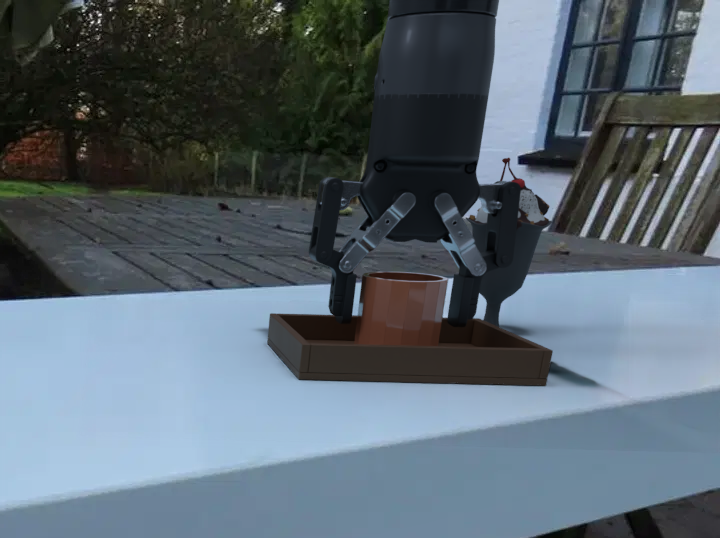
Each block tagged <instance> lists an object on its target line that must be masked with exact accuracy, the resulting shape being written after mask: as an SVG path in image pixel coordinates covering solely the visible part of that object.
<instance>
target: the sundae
mask: <svg viewBox="0 0 720 538" xmlns="http://www.w3.org/2000/svg"><path fill="white" fill-rule="evenodd" d="M501 161H502V162H503V164H504V166H503V170H502V173H501V176H500V180H499V181H504V176H505V173H506V169H507V167H508V171H509V173H510V174H511V176H512V177H513V179H512V180H510V181H511V182H516V183H518V184H519V185H520V187H521V193H520V202H519V211H518V220H517V229H516V238H515V247H514V256H513V262H512V264H511V265H510V266H509V267H507V268H498V269H495V270H492V271H489V272H487V273H486V274H485V275H484V276H483V277H482V280H481V285H480V291H479V295H481V296H482V297H483V298H484V299H485V302H486V305H485V312H484V316H483V319H482V320H484V321H486V322H488V323H491V324H493V325H495V326H498V327H500V311H501V306H502V304H503V302H504V301H505V300H507V299H508V298H510V297H512V296H514V295H515V294H516V293H517V292H518V291H519V290H520V289H521V288H522V287H523V285H524V283H525V280H526V279H527V276H528V273H529V270H530V267H531V264H532V261H533V257H534V255H535V251H536V248H537V245H538V243H539V240H540V238H541V234H542V232H543V230H544V229H547V228H548V227H550V226H551V225H552V223H553V221H552V220H550V219H549V218H547V217H546V216H545V215H546V214H547V213H548V211H549V210H550V205H549V204H548V203H547V202H546V201H545V200H544V199H543V198H541V196H539V195H538V194H535V193H534V191H532V190H533V189H532V188H529V187H527V185H526V182H525V180H524V179H523V178H520V177H519V178H518V177H516V175H515V174H514V173H513V170H512V168H511V167H510V165H511V163H510V161H511V158H510V157H506V158H502V159H501ZM487 216H488V213H486V212H484V211H483V209H482V205H481V206H480V207H479V208H478V209H477V210H476V215H473V214H470V215H469V217H465V220H466V221H468V222H469V223H470V225H471V229H472V230H471V231H472V232H471V234H472V236H473V238H474V239H475V245H476V247H477V248H478V250H479V252H480V253H482V252H484V246H485V236H486V226H487Z"/></svg>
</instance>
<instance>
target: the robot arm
mask: <svg viewBox="0 0 720 538" xmlns="http://www.w3.org/2000/svg"><path fill="white" fill-rule="evenodd" d="M499 4H500V0H389V2H388V9H387V10H388V11H387V21H386V24H385V30H384V35H383V38H382V42H381V47H380V51H379V55H378V62H377V70H376V74H375V76H374V83H373V88H374V97H373V105H372V113H371V121H370V124H371V125H370V131H369V139H368V148H367V156H366V165H365V171H364V173H363V175H362V177H361V179H360V180H359V181H352V180H342V179H340V178H338V177H330V176H327V177H323V178H321V180H320V182H319V183H318V184H319V185H318V190H317V197H316V203H315V209H314V215H313V222H312V227H311V234H310V239H309V240H310V241H309V247H308V257H309V258H310V259H311V260H313V261H315V262H317V263H319V264H322V265H324V266H326V267H328V268H329V269H330V271H331V279H330V287H329V288H330V289H329V295H328V296H329V299H328V309H329V313H330V315H334V316H335V318H336V321H337V322H338V323H340V324H350V323H351V320H352V315H353V312H354V310H353V309H354V303H355V302H354V301H355V294H356V286H357V277H358V274H356V273H354V271H355V270H356V268H357V267H358V266H359V265H360V264H361V263H362V261H363V260H364V259H365V258H366V257H367V256H368V255H369V254H370V252H372V251H374V250H375V249H376V248H377V247H378V246H379V245H380V244H381V243H382V241H384V240H386V241H390V242H394V243H406V242H410V241H413V240H416V241H419V242H422V243H429V244H430V243H436V244H437V243H438V241H440V242H441V244H442V246H443V248H445V249H446V250H447V251H448V253H449V254H450V256H451V258H452V259H453V262H454V263H455V265H456V266H457V268H458V273H454V274H453V278H452V285H451V291H450V299H449V305H448V311H447V312H448V313H447V317H446V318H447V321H448V324H449V325H451V326H453V327H466V325H467V320H472V319H473V318H475V316H476V314H477V309H478V305H479V304H478V303H479V299H480V298H479V296H480V293H479V291H480V285H481V280H482V277H483V276H484V275H485V274H486V273H487V272H489V271H492V270H495V269H498V268H507V267H509V266H510V265H511V264H512V262H513V256H514V247H515V238H516V229H517V220H518V211H519V202H520V193H521V187H520V185H519V184H518V183H516V182H511V181H512V180H502V181H500V180H497V181H495V182H494V183H480V182H479V180H478V176H477V168H478V164H479V160H480V154H481V148H482V147H481V146H482V140H483V135H484V127H485V120H486V115H487V108H488V101H489V95H490V88H491V82H492V77H493V76H492V75H493V70H494V64H495V53H496V24H497V16H498V9H499ZM355 197H357V200H358V201H359V203H360V205H361V207H362V209H363V211H364V212H365V214H366V215H365V217H364V218H363V219H362V221H361V222H360V223H359V224H358V225H357V226H356V227H355V228H354V230H353V231H352V232H351V233H350V235H349V237H348V239H347V241H346V242H345V243H344V244H343V245H342V246H341V247H340V249H338V250H335V249H334V247H335V241H336V235H337V228H338V223H339V217H340V212H341V211H344V210H347V208H348V207H349V206H350V203H351V201H352V199H353V198H355ZM478 200H479V202H480V204H481V206H482V209H483V211H484V212H486V213H488V216H487V226H486V236H485V246H484V252H482V253H480V252H479V250H478V248H477V247H476V245H475V239H474V238H473V236H472V232H471V230H470V229H469V227H468V225H467V224H466V222H465V220H464V219H463V218H464V217H465V215H466V214H467V213H468V212H469V211H470V209H471V208H473V206H474V205H475V204H476V202H477V201H478Z"/></svg>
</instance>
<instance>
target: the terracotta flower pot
mask: <svg viewBox="0 0 720 538" xmlns="http://www.w3.org/2000/svg"><path fill="white" fill-rule="evenodd" d="M449 280H450V279H449V278H448V277H446V276H442V275H436V274H430V273H422V272H410V271H409V272H407V271H370V272H364V273H363V274H362V275H361V284H360V291H359V299H358V307H357V308H358V309H357V315H358V316H357V324H356V333H355V341H354V344H374V345H414V346H439V339H440V333H441V326H442V320H443V318H444V311H445V305H446V299H447V292H448V286H449Z"/></svg>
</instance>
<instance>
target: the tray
mask: <svg viewBox="0 0 720 538" xmlns="http://www.w3.org/2000/svg"><path fill="white" fill-rule="evenodd" d="M357 316H358V314H357V315H355V314H354V315H353V314H352V320H351V323H350V324H340V323H338V322H337V321H336V318H335V316H334V315H333V314H317V313H316V314H313V313H312V314H311V313H310V314H309V313H269V319H268V320H269V321H268V331H267V345H268V346H269V347H270V348H271V349H272V350H273V351H274V352H275V354H276V355H277V356H278V357H279V359H281V361H282V362H283V363H284V364H285V366H286V367H287V368H288V369H289V370H290V371H291V372H292V373H293V375H295V377H296V378H297V379H298V380H302V381H303V380H307V381H350V382H382V383H383V382H387V383H421V384H422V383H423V384H424V383H427V384H430V383H431V384H459V385H460V384H463V385H464V384H465V385H466V384H467V385H500V386H501V385H503V386H504V385H505V386H539V387H541V386H542V387H543V386H544V387H546V386H547V383H548V378H549V372H550V367H551V362H552V358H553V353H554V352H553V351H554V350H552V349H550V348H548V347H546V346H543V345H541V344H539V343H536V342H535V341H532V340H529V339H528V338H525V337H523V336H520V335H519V334H516V333H513V332H511V331H509V330H507V329H504V328H502V327H500V326H499V327H498V326H495V325H493V324H491V323H488V322H486V321H484V320H483V319H482V318H480V317H479V318H478V317H476V318H475V317H473V319H472V320H467V325H466V327H453V326H451V325H449V324H448V321H447V318H448V317H443V320H442V326H441V333H440V339H439V346H414V345H374V344H354V341H355V333H356V324H357Z"/></svg>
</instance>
